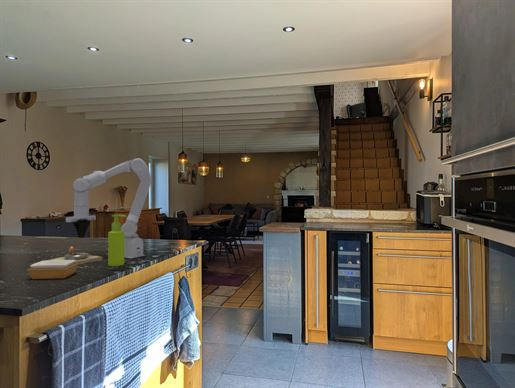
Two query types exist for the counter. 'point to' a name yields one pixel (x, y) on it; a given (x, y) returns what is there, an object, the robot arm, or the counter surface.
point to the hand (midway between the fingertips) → (81, 237)
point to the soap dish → (52, 269)
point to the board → (84, 260)
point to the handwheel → (75, 254)
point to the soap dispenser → (116, 243)
